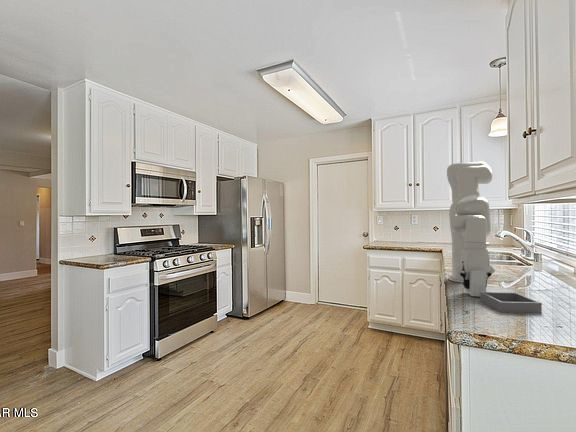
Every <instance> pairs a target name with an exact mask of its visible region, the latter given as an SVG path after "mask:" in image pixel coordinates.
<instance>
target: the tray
mask: <svg viewBox="0 0 576 432" xmlns="http://www.w3.org/2000/svg"><path fill="white" fill-rule="evenodd" d="M479 301H480V302H482V303H483V304H485V305H487V306H489V307H491V308H492V309H494V310H496V311H498V312H500V313H527V314H529V313H531V314H542V309H543V307H542V305H543V303H542V302H540V301H538V300H535V299H533V298H531V297H528V296H526V295H524V294H521V293H518V292H509V291H507V292H505V291H504V292H503V291H502V292H501V291H499V292H498V291H497V292H496V291H494V292H493V291H486V292H480V296H479Z"/></svg>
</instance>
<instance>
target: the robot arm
mask: <svg viewBox="0 0 576 432" xmlns="http://www.w3.org/2000/svg"><path fill="white" fill-rule="evenodd" d="M446 178H447V182H448V183H449V186H450V189H451V197H452V203H451V205H450V207H449V211H448V216H449V226H450V234H451V275H450V276H448V280H449V281H451V282H455V283H460V284H462V285H463V287H464V289H465V288H467V289H469V288H470V280H469V279H468V278H469V275H470V271H476V270H483V271H486V288H487V287H488V280H489V279H490V277H491V276H492V275H493V274H495V272H496V269H494V267H492V265H491V262H490V261H491V260H490V255H489V251H488V248H487V247H489V246H490V243H489V242H487V238H488V237H490V235H491V231H492V228H491V213H490V212H491V211H490V204H489V201H488V200H487V199H486V198H485V197H480V195H481V194H480V188H479V185H485V184H486V185H487V184H490V183H491V182H492V180H493V172H492V169H491V167H490V165H488V164H487V163H486V162H484V161H478V162H477V161H475V162H471V161H470V162H457V163H456V162H455V163H452V164H450V165H448V167H447V168H446Z"/></svg>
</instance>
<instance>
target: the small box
mask: <svg viewBox="0 0 576 432" xmlns="http://www.w3.org/2000/svg"><path fill="white" fill-rule="evenodd" d="M468 279H469V280H470V288H469V289H467V288H465V287H464V292H466V293H467V294H468V295H469V296H471V297H480V292H487V287H486V271H483V270H476V271H470V275H469V278H468Z"/></svg>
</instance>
